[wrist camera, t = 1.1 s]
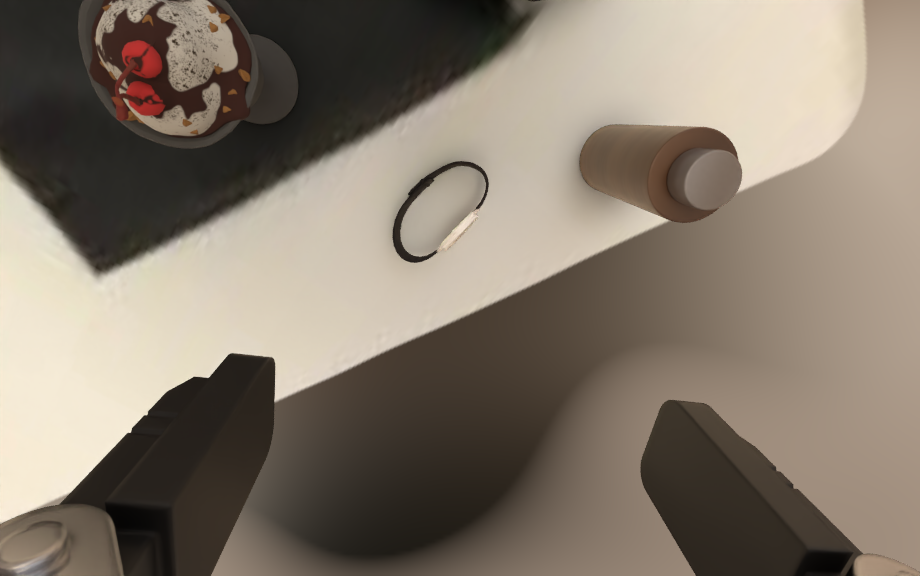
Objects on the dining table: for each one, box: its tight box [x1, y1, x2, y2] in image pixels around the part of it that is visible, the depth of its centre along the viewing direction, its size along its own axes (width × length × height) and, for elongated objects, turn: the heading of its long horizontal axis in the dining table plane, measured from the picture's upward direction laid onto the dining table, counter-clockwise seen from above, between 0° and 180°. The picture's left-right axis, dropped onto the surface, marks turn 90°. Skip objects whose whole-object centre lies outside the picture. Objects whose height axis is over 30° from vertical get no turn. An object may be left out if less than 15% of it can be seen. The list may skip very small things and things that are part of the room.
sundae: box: [78, 0, 299, 149], centre depth 20 cm, size 7×7×15 cm
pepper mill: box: [580, 124, 742, 223], centre depth 25 cm, size 4×4×12 cm
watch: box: [393, 161, 489, 263], centre depth 29 cm, size 8×5×4 cm, turn 137°
